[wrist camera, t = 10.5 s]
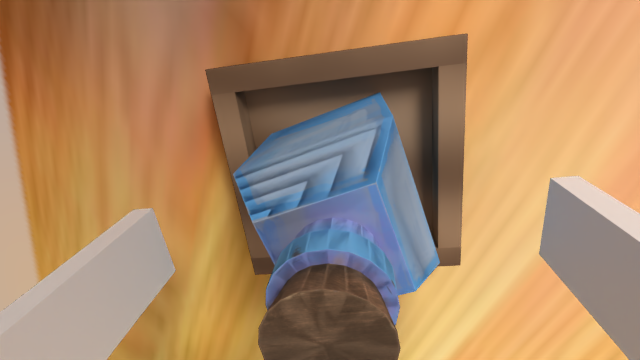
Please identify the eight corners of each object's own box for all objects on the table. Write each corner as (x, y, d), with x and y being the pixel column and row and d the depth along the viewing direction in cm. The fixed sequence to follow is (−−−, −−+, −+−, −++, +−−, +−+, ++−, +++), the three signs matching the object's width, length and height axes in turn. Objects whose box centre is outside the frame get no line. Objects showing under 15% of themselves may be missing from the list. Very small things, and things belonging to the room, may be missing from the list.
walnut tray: (220, 67, 18) (205, 69, 16) (454, 35, 16) (467, 33, 14) (263, 255, 22) (255, 274, 20) (450, 245, 20) (460, 265, 18)
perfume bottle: (313, 227, 20) (263, 449, 9) (271, 133, 18) (140, 271, 7) (413, 196, 19) (501, 415, 8) (379, 92, 17) (429, 181, 6)
